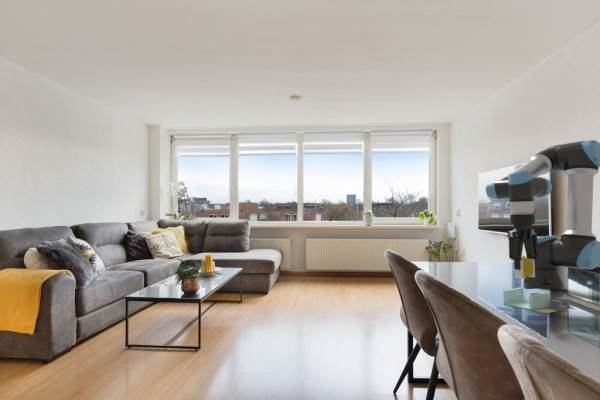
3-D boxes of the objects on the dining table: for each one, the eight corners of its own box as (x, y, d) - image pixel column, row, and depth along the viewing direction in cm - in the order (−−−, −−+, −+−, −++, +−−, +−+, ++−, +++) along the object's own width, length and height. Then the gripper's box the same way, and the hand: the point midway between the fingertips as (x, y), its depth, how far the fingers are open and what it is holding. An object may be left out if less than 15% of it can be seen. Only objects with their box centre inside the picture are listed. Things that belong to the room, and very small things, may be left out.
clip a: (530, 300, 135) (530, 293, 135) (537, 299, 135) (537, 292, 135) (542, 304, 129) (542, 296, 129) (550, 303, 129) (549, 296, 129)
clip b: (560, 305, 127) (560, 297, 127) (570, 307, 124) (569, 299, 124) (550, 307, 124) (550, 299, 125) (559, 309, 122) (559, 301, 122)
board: (535, 301, 137) (535, 298, 137) (574, 310, 125) (574, 306, 125) (506, 307, 130) (505, 304, 130) (544, 317, 118) (544, 313, 118)
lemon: (519, 279, 126) (518, 257, 126) (513, 276, 132) (512, 255, 132) (536, 280, 125) (535, 257, 125) (529, 277, 131) (528, 255, 131)
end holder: (521, 300, 135) (520, 287, 135) (550, 306, 125) (549, 292, 125) (503, 304, 131) (503, 290, 131) (532, 311, 121) (531, 296, 121)
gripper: (528, 212, 136) (531, 273, 136) (495, 214, 129) (498, 278, 128) (548, 212, 129) (551, 276, 129) (515, 214, 122) (518, 282, 121)
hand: (525, 277), depth 128 cm, fingers closed on lemon, 5 cm apart
